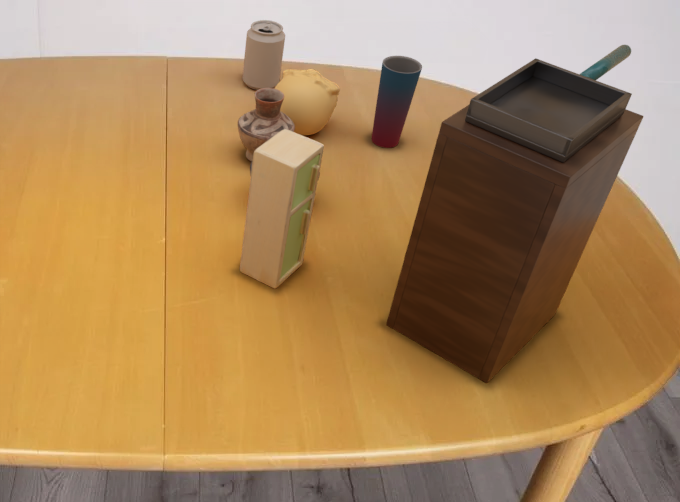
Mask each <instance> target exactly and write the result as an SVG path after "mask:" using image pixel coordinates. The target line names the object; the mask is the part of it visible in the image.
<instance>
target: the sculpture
mask: <svg viewBox="0 0 680 502" xmlns="http://www.w3.org/2000/svg"><path fill="white" fill-rule="evenodd" d="M274 89H277V90H280V91H281V92H282V93H283V94H284V100H283V102H282V105H281V108H280V111H281V112H283V113H284V114H286V115H287V116H288V117H289V118H290V119H291V120H292V121H293V123H294V125H295V130H294V132H295V133H297V134H300V135H302V136H310V135H314V134H316V133H319V132H320V131H322V130H323V129H324V128H325V126H326V125H327V124H328V122H329V120H330V119H331V117H332V115H333V113H334V111H335V109H336V107H337V106H338V105H337V104H338V99H339V97H338V96H339V95H340V91H341V88H340V87H339V85H338V84H337V83H336V82H334V81H332V80H329V79H327V78H326V77H325V76H323V75H322V73H320V72H319V71H318V70H316V69H314V68H307V69H284V70H283V71H282V78H281V79H280V80H279V83H278V84H277V85H276V86H275V87H274Z"/></svg>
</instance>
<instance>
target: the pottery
mask: <svg viewBox="0 0 680 502" xmlns="http://www.w3.org/2000/svg"><path fill="white" fill-rule="evenodd" d="M274 88H275V87H274ZM274 88H262V89H259V90H255V92H254V101H255V108H254V109H252V110H250V111H247V112H246V113H244V114H242V115H241V116H239V118H238V120H237V130H238V134H239V138H240V142H241V143H242V145H243V146H244V148H245V149H246V152H245V157H246V159H247V160H248V161H250V165H249V175H250V177H249V178H251V170H252V162H253V154H254V151H255V150H256V149H257V148H258V147H260V146H261V145H262V144H264V143H265V142H266V141H268V140H269V139H270V138H272V137H273V136H274V135H276V134H277V133H278V132H280V131H281V130H284V129H287V130H290V131H292V132H294V130H295V125H294V123H293V121H292V120H291V119H290V118H289V117H288V116H287V115H286V114H284V113H283V112H281V111H280V108H281V105H282V102H283V100H284V94H283V93H282V92H281V91H280V90H277V89H274ZM320 174H321V171H320V172H319V177H318V181H319V179H320Z"/></svg>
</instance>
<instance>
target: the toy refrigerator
mask: <svg viewBox="0 0 680 502" xmlns="http://www.w3.org/2000/svg"><path fill="white" fill-rule="evenodd" d="M324 151H325V145H324V144H323V143H321V142H319V141H317V140H314V139H312V138H309V137H307V136H306V135H304V136H302V135H300V134H297V133H295V132H292V131H290V130H287V129H284V130H281V131H280V132H278V133H277V134H276V135H274V136H273V137H272V138H270V139H269V140H268V141H266V142H265V143H264V144H262V145H261V146H260V147H258V148H257V149H256V150H255V151H254V154H253V162H252V161H251V162H252V170H251V177H250V180H249V188H248V197H247V205H246V214H245V222H244V230H243V238H242V246H241V255H240V263H239V272H240V273H242V274H243V275H246V276H248V277H250V278H252V279H254V280H256V281H258V282H260V283H261V284H265V285H266V286H268V287H270V288H272V289H277V288H278V287H280V286H281V285H282V284H283V283H284V282H285V281H286V280H287V279H288V278H290V276H291V275H293V274H294V273H295V272H296V270H298V268H300V267H301V266H302V265H303V263H304V259H305V254H306V253H305V252H306V247H307V242H308V236H309V230H310V224H311V219H312V214H313V209H314V204H315V199H316V192H317V187H318V184H319V183H318V182H319V180H318V177H319V178H320V176H319V172H320V173H321V166H322V161H323V160H322V159H323V154H324Z"/></svg>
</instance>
